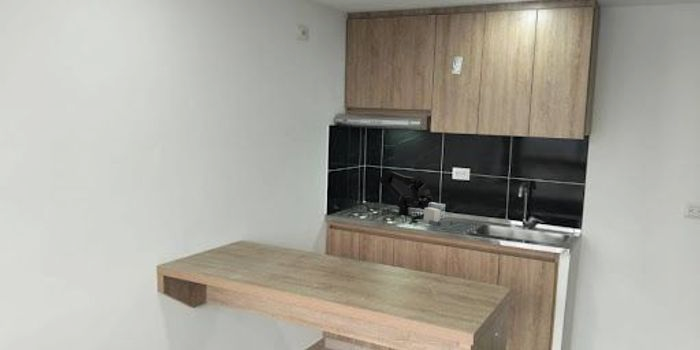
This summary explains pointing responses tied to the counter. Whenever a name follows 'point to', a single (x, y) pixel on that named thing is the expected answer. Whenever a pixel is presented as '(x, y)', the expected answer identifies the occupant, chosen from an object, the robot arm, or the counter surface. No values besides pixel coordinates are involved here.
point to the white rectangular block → (431, 214)
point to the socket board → (437, 222)
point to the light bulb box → (438, 206)
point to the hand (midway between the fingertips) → (426, 210)
